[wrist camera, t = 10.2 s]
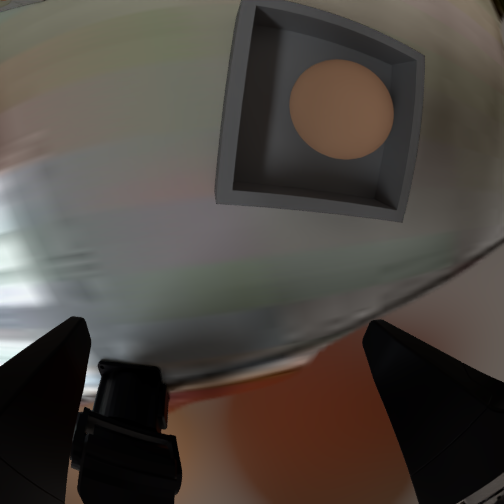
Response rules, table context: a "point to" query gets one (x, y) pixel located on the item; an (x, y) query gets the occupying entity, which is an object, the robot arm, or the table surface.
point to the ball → (341, 109)
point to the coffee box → (15, 3)
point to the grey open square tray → (281, 126)
